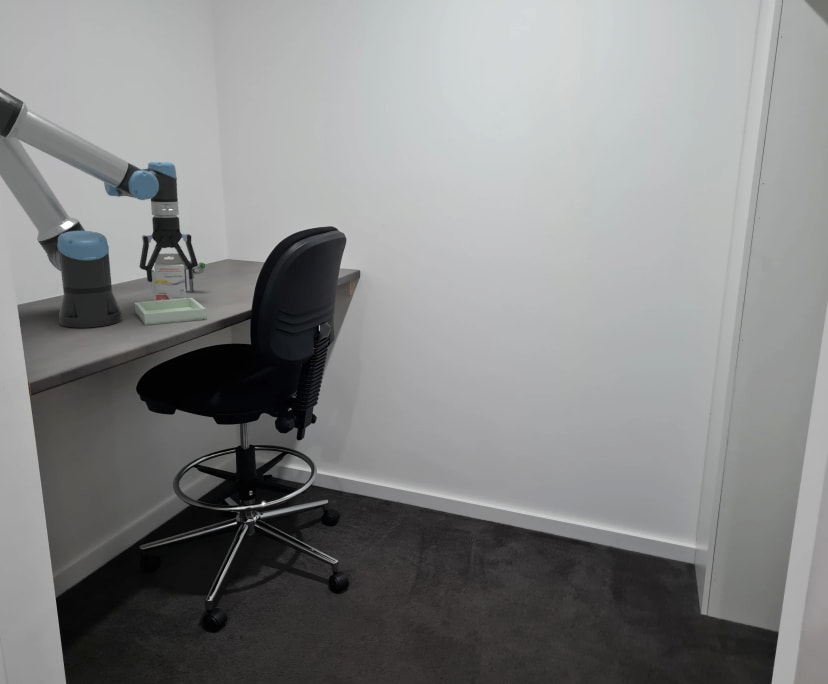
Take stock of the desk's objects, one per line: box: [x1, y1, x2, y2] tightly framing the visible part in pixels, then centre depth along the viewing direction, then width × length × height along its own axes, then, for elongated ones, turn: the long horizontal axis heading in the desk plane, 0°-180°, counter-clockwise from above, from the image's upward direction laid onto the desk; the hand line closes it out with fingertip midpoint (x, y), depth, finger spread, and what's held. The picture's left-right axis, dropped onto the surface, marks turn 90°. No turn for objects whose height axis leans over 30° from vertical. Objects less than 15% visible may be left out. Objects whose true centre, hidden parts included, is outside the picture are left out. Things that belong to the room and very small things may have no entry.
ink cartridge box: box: [153, 253, 187, 301], centre depth 203 cm, size 9×5×15 cm, turn 108°
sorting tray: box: [134, 297, 207, 326], centre depth 187 cm, size 16×16×3 cm
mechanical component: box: [183, 260, 206, 293], centre depth 219 cm, size 3×10×10 cm, turn 78°
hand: (170, 290), depth 204 cm, fingers closed on ink cartridge box, 9 cm apart
